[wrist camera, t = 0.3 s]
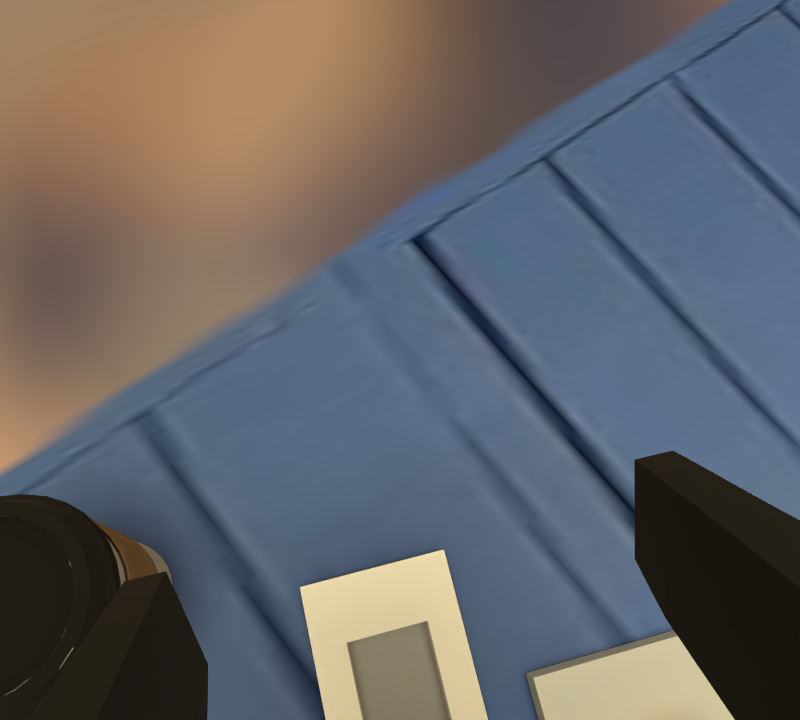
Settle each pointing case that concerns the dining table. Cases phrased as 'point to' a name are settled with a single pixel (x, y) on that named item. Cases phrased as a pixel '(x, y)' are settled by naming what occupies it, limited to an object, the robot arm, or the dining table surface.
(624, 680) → the tray
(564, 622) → the dining table surface
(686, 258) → the dining table surface
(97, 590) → the coffee cup
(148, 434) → the dining table surface
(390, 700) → the power strip
